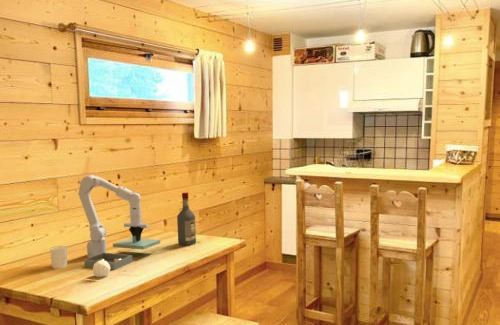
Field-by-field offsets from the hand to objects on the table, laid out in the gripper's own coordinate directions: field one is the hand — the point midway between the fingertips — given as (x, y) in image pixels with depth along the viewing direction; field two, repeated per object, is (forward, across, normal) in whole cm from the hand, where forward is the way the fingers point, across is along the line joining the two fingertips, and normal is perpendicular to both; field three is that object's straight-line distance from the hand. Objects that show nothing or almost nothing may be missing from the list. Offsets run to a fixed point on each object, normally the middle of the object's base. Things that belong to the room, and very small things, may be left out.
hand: (136, 240), depth 247 cm
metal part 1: (+7, -6, -22) cm, 24 cm away
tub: (+8, -2, -21) cm, 22 cm away
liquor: (+8, +14, +29) cm, 33 cm away
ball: (+8, +7, -37) cm, 38 cm away
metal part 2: (+7, +2, -19) cm, 20 cm away
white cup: (+8, -24, -31) cm, 40 cm away
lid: (+2, 0, 0) cm, 3 cm away
